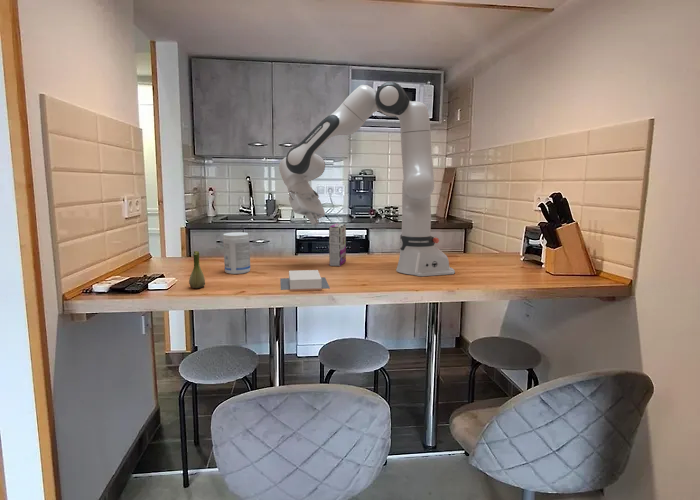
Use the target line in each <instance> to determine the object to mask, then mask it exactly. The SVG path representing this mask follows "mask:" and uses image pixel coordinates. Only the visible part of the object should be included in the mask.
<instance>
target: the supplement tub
mask: <svg viewBox="0 0 700 500" xmlns="http://www.w3.org/2000/svg"><path fill="white" fill-rule="evenodd" d="M222 239H223V240H222V241H223V242H222V243H223V261H224V262H223V264H224V272H225V273H226V274H229V275H239V274H241V275H242V274H247V273H249V272H250V271H251V251H250V248H251V247H250V246H251V245H250V236H249V233H248V232H246V231H245V232H244V231H243V232H242V231H239V232H238V231H237V232H233V231H232V232H225V233H223V237H222Z"/></svg>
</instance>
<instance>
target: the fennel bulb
mask: <svg viewBox="0 0 700 500" xmlns="http://www.w3.org/2000/svg"><path fill="white" fill-rule="evenodd" d="M192 255H193V269H192V272H191V274H190V275H189V278H188V283H189V284H188V285H189V286H190V287H191V289H192V288H193V289H201V288H203V287H205V286H206V278H205V275H204V273H203V271H202V268H201V266H200V252H199V251H196V250H195V251H193V254H192Z"/></svg>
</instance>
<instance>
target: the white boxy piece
mask: <svg viewBox="0 0 700 500" xmlns="http://www.w3.org/2000/svg"><path fill="white" fill-rule="evenodd" d="M288 278H289V284H290V290H289V291H290V292H297V291H298V292H301V291H303V292H304V291H322V290H323V289H322V279H321V275H320V271H319V270H318V269H312V270H311V269H307V270H306V269H305V270H301V269H300V270H298V269H297V270H289V271H288Z"/></svg>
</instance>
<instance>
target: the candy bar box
mask: <svg viewBox="0 0 700 500" xmlns="http://www.w3.org/2000/svg"><path fill="white" fill-rule="evenodd" d="M346 225H347V224H346V223H334V224H332V225H330V226H329V227H328V235H329V236H328V241H329V244H328V245H329V246H328V247H329V249H328V251H329V252H328V253H329V256H328V258H329V262H328V263H329V267H341V266H342V265H343V264H345V263H346V261H347V248H346V247H347V243H346V241H347V235H346V234H347V231H346V230H347V227H346Z"/></svg>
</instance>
